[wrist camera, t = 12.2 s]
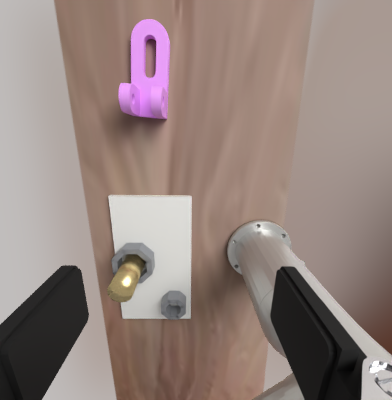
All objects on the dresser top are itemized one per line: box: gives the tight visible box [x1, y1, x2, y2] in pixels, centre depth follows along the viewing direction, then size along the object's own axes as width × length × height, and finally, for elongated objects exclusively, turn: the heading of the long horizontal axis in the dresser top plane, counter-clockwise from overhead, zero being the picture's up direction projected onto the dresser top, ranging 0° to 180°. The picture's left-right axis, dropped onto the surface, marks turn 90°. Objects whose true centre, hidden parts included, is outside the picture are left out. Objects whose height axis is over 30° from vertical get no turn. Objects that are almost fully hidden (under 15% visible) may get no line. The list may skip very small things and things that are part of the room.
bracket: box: [119, 19, 170, 119], centre depth 29 cm, size 13×6×7 cm, turn 175°
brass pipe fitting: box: [107, 254, 146, 302], centre depth 36 cm, size 4×4×9 cm
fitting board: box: [108, 195, 192, 319], centre depth 40 cm, size 15×28×4 cm, turn 179°
